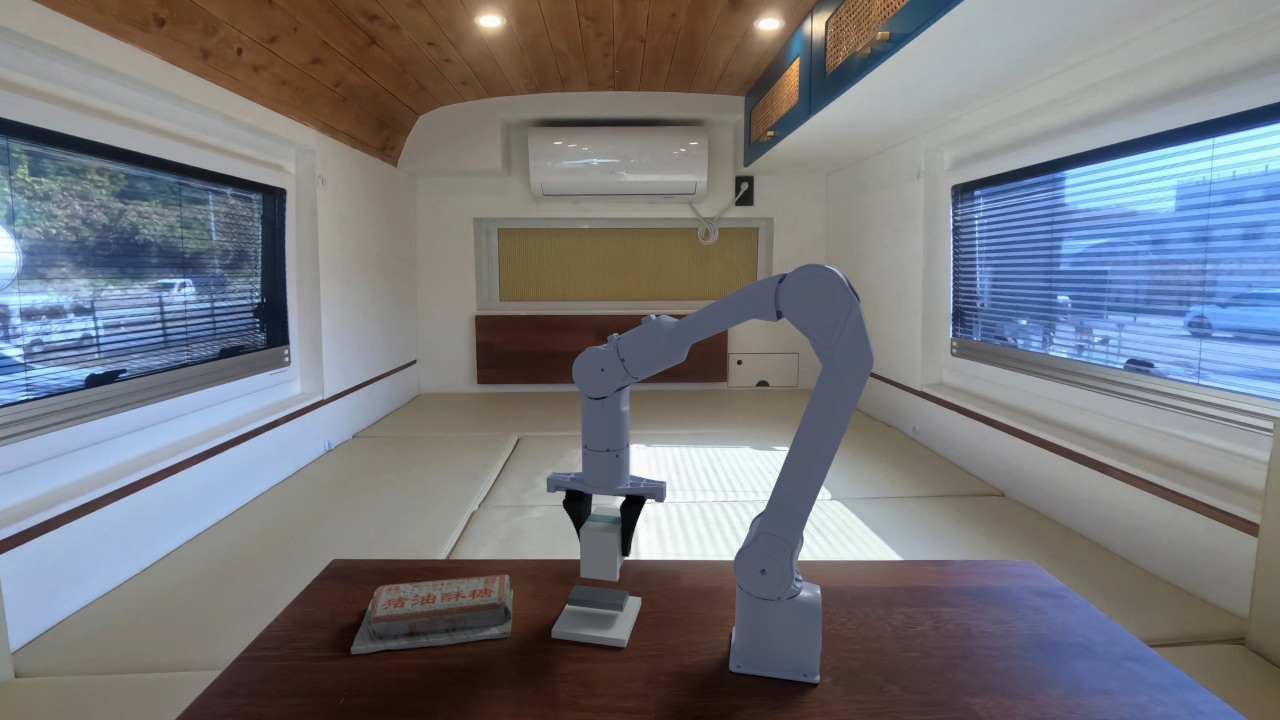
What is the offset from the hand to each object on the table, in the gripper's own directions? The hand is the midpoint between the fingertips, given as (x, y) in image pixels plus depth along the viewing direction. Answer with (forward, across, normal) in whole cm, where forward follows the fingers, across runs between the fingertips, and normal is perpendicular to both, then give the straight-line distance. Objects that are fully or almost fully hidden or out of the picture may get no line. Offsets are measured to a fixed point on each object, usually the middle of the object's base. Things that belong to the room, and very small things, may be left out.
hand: (606, 550), depth 73 cm
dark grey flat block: (+6, +1, +1) cm, 7 cm away
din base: (+9, +1, +1) cm, 9 cm away
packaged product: (+10, +20, +5) cm, 23 cm away
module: (+2, 0, 0) cm, 2 cm away
